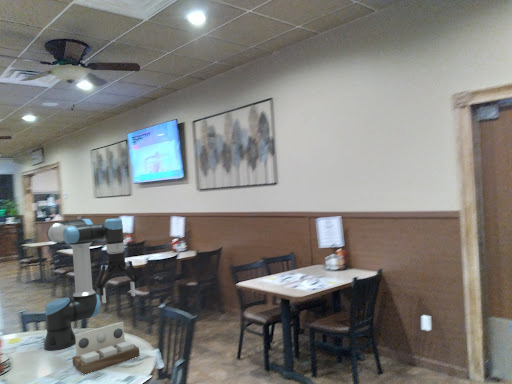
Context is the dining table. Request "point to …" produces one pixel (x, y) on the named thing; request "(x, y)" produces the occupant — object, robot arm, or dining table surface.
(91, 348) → the pattern card
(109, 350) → the middle button
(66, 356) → the dining table surface
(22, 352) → the dining table surface
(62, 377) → the dining table surface
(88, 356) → the button
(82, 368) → the button board
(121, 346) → the button
